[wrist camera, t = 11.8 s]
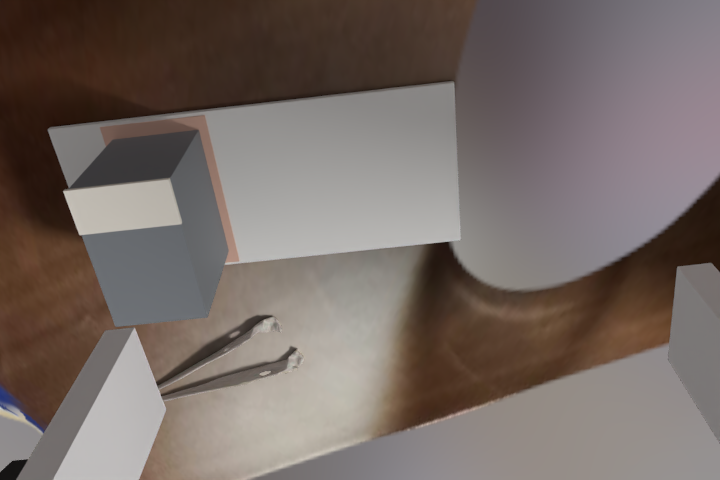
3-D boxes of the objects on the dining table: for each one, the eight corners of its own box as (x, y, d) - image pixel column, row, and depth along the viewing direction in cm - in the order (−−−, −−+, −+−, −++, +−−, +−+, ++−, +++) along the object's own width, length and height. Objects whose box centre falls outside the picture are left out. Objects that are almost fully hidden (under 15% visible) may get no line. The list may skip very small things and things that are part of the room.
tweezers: (274, 306, 44) (269, 325, 42) (308, 354, 46) (305, 374, 45) (76, 385, 49) (65, 405, 47) (115, 425, 51) (106, 445, 49)
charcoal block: (229, 250, 41) (208, 318, 34) (149, 259, 41) (114, 328, 35) (199, 127, 37) (168, 179, 30) (111, 138, 37) (62, 191, 31)
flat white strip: (453, 80, 36) (454, 83, 36) (459, 236, 41) (461, 240, 41) (50, 127, 37) (46, 130, 37) (103, 274, 42) (101, 278, 42)
